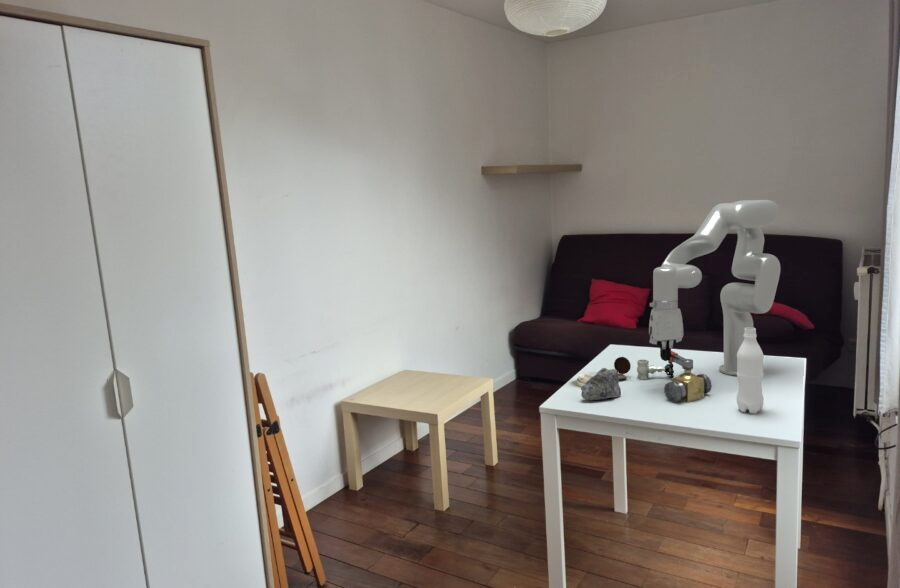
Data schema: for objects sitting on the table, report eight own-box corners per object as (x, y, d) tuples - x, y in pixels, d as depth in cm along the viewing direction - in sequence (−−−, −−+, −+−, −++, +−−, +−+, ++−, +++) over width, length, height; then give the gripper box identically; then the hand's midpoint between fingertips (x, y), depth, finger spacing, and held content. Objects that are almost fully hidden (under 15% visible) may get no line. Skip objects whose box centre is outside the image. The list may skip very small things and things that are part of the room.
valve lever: (695, 368, 207) (694, 360, 206) (685, 370, 206) (685, 362, 206) (672, 357, 221) (672, 350, 221) (663, 358, 221) (663, 351, 220)
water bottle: (736, 405, 199) (736, 325, 195) (762, 407, 197) (763, 325, 193) (737, 414, 193) (736, 331, 189) (764, 415, 190) (764, 331, 186)
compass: (605, 380, 234) (604, 360, 232) (616, 374, 239) (615, 355, 238) (626, 383, 228) (625, 363, 227) (636, 377, 234) (636, 357, 233)
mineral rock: (581, 403, 212) (580, 373, 210) (580, 392, 222) (579, 364, 221) (622, 402, 210) (621, 372, 208) (619, 392, 220) (618, 363, 218)
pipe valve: (694, 390, 216) (693, 362, 215) (713, 396, 209) (713, 367, 208) (662, 398, 210) (661, 370, 209) (681, 405, 203) (681, 376, 202)
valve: (638, 381, 230) (674, 381, 228) (637, 363, 229) (673, 362, 226) (636, 376, 236) (671, 375, 234) (635, 358, 235) (670, 357, 233)
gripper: (649, 308, 208) (649, 364, 211) (692, 305, 211) (692, 360, 214) (638, 305, 216) (639, 359, 219) (681, 301, 218) (681, 355, 221)
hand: (665, 359), depth 216 cm, fingers closed
